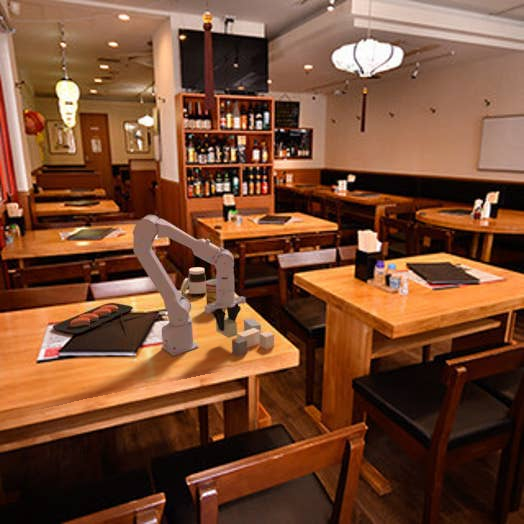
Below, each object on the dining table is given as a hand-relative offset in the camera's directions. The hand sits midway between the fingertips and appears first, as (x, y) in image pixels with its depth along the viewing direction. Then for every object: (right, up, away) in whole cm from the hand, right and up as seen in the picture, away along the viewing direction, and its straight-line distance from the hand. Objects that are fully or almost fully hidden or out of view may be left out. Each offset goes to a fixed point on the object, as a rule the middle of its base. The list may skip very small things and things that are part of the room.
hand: (226, 328), depth 135 cm
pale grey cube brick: (+13, -6, 0) cm, 15 cm away
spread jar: (-20, +7, +53) cm, 57 cm away
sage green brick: (0, -2, 0) cm, 2 cm away
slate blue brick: (+8, -4, +10) cm, 14 cm away
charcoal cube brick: (+5, -7, -4) cm, 9 cm away
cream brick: (+7, -6, +2) cm, 10 cm away
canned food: (-7, +2, +33) cm, 34 cm away
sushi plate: (-46, -2, +21) cm, 50 cm away
